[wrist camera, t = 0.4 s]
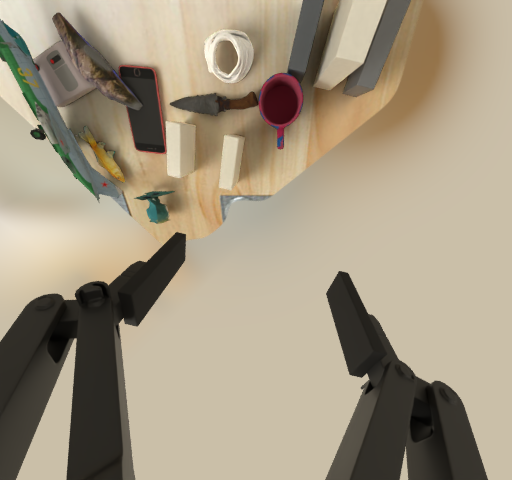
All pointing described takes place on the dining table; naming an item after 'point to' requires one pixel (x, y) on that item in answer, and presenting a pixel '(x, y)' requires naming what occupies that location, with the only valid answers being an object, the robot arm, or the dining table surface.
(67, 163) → the airplane
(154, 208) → the figurine
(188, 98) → the knife
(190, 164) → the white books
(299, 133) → the dining table surface
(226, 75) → the white cloth wrap
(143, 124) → the smartphone
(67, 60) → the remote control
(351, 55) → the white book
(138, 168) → the dining table surface
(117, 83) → the decorative rock
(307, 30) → the pair of grey blocks
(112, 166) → the fish
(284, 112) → the cup
